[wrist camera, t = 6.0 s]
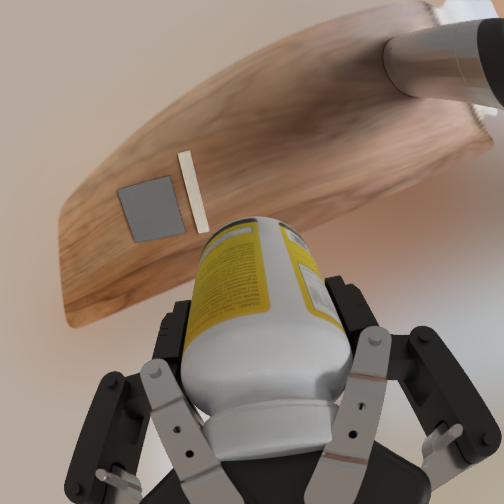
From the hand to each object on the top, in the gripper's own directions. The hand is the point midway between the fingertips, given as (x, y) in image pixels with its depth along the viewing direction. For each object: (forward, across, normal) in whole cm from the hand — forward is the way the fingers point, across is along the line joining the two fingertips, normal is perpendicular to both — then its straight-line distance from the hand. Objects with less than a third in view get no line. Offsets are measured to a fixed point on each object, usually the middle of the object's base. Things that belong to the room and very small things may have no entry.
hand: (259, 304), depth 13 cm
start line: (+23, +7, +1) cm, 24 cm away
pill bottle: (+4, 0, 0) cm, 4 cm away
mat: (+23, +13, +2) cm, 26 cm away
